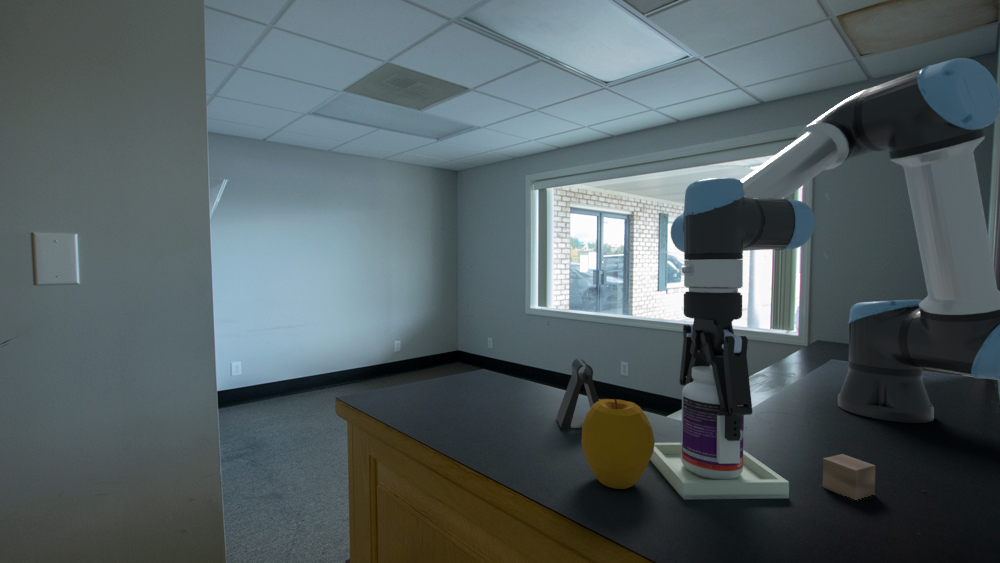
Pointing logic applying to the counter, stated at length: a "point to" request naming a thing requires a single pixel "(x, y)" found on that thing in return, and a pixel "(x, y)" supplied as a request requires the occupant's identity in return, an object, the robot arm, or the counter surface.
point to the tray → (689, 485)
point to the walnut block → (849, 476)
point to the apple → (617, 442)
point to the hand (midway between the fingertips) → (711, 448)
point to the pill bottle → (704, 428)
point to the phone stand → (576, 396)
